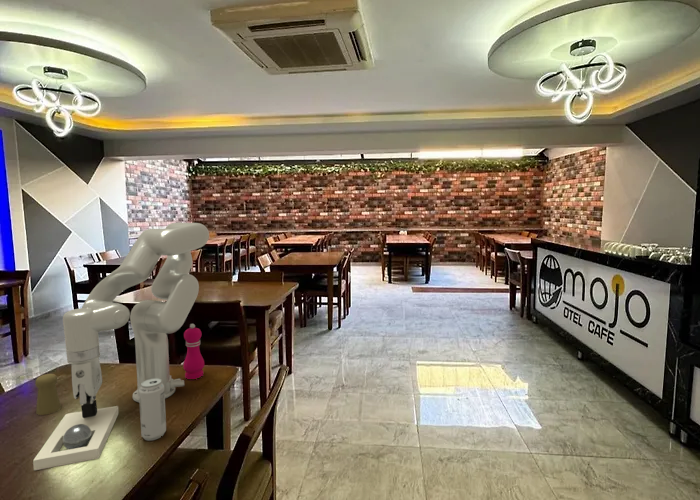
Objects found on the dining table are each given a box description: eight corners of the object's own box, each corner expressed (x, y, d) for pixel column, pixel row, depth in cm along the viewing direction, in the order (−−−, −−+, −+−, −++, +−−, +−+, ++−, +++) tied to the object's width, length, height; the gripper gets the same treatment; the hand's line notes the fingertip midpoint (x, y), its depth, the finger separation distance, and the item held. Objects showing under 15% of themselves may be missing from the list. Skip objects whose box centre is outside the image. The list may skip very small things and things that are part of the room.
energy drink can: (142, 432, 104) (139, 379, 103) (166, 426, 107) (164, 375, 105) (140, 444, 99) (137, 389, 97) (166, 438, 101) (163, 384, 100)
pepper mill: (191, 382, 134) (189, 327, 132) (179, 377, 138) (177, 324, 136) (209, 375, 140) (207, 322, 138) (196, 371, 144) (194, 319, 142)
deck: (118, 413, 113) (118, 405, 113) (98, 458, 93) (98, 448, 93) (66, 422, 109) (66, 413, 109) (33, 470, 88) (33, 460, 88)
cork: (47, 416, 112) (44, 380, 111) (30, 414, 113) (27, 378, 112) (66, 406, 118) (63, 372, 117) (50, 404, 119) (47, 370, 118)
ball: (96, 419, 99) (83, 437, 93) (96, 438, 101) (83, 456, 95) (71, 418, 98) (56, 435, 93) (72, 436, 100) (57, 454, 94)
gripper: (92, 361, 99) (99, 426, 101) (105, 342, 113) (111, 400, 115) (58, 366, 96) (65, 433, 98) (75, 346, 110) (81, 405, 112)
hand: (90, 415), depth 107 cm, fingers closed
